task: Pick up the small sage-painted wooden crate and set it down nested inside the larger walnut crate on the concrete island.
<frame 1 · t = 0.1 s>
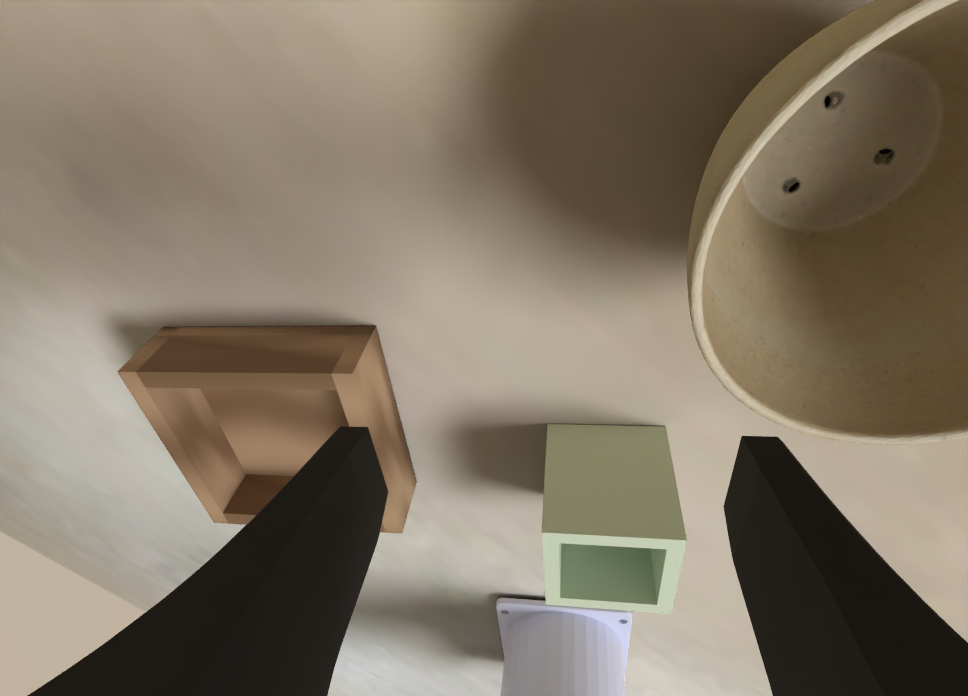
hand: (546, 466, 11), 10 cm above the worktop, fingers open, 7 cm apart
big crate: (300, 410, 26), on the worktop
small crate: (603, 464, 25), on the worktop
flower pot: (827, 144, 16), on the worktop
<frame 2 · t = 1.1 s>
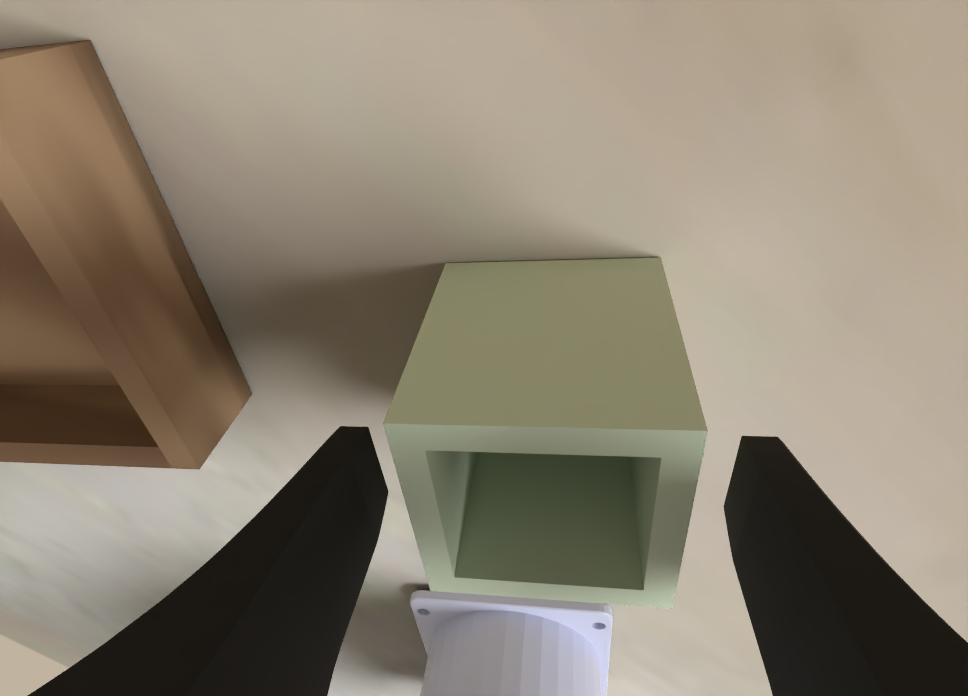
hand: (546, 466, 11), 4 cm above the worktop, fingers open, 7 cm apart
big crate: (27, 257, 15), on the worktop
small crate: (552, 346, 14), on the worktop
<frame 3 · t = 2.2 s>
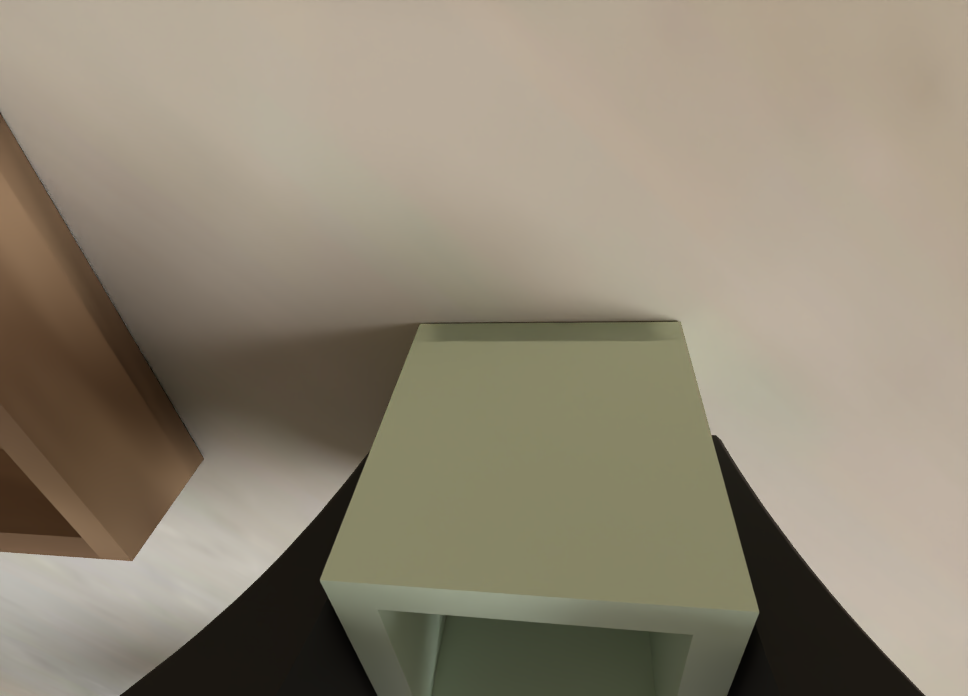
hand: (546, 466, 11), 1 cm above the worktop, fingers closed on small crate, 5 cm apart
small crate: (548, 416, 12), on the worktop, touching gripper
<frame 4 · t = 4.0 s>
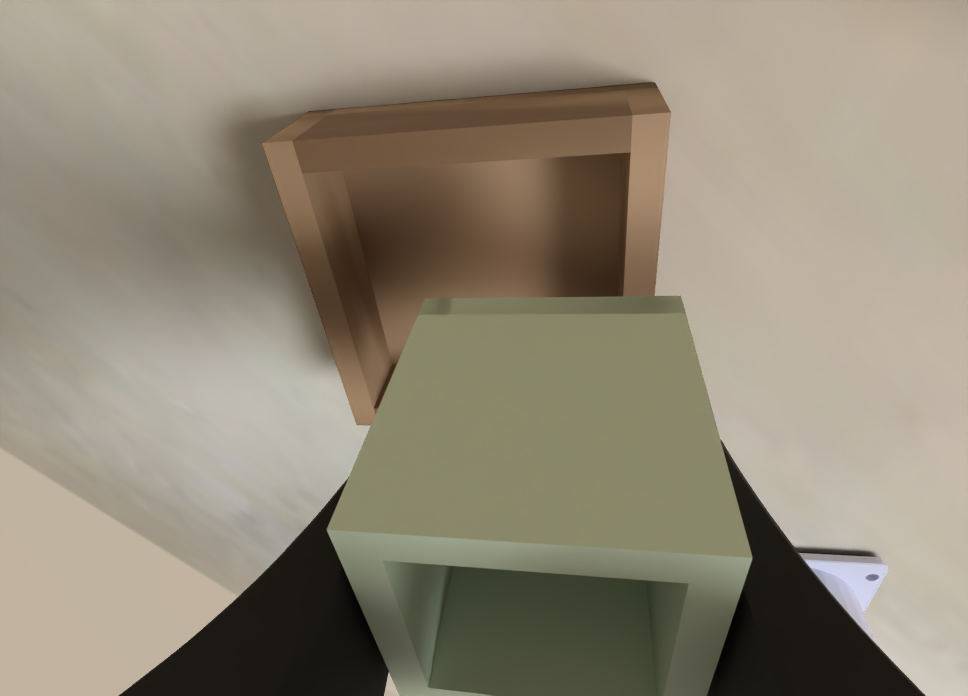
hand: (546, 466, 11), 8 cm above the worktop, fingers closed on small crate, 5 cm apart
big crate: (489, 255, 18), on the worktop
small crate: (551, 392, 12), point 7 cm above the worktop, touching gripper
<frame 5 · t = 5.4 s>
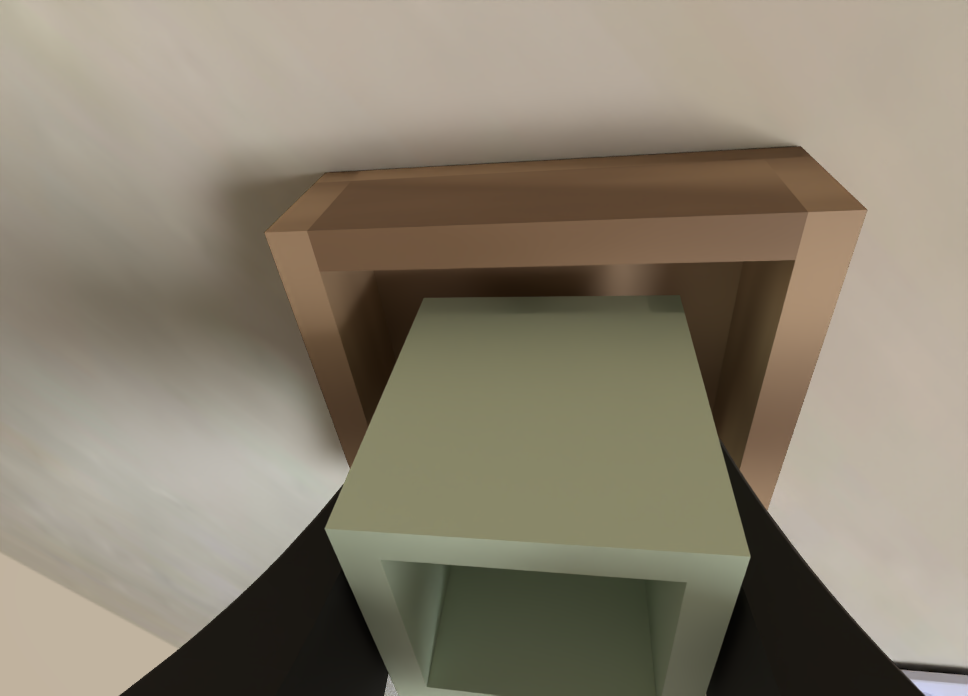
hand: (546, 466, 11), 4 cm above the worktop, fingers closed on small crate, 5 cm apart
big crate: (552, 348, 14), on the worktop
small crate: (550, 392, 12), point 2 cm above the worktop, touching gripper
when the fingers open (4 cm above the worktop, at t = 6.0 s): small crate drops 1 cm, resting on big crate.
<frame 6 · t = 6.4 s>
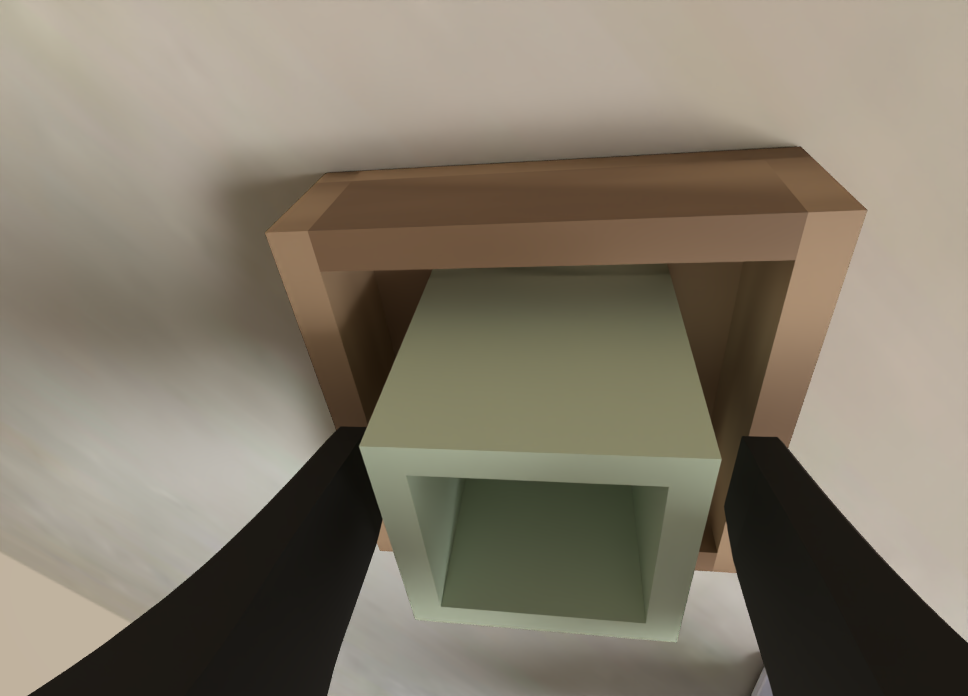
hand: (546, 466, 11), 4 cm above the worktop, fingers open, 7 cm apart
big crate: (552, 348, 14), on the worktop
small crate: (548, 353, 13), point 1 cm above the worktop, touching big crate
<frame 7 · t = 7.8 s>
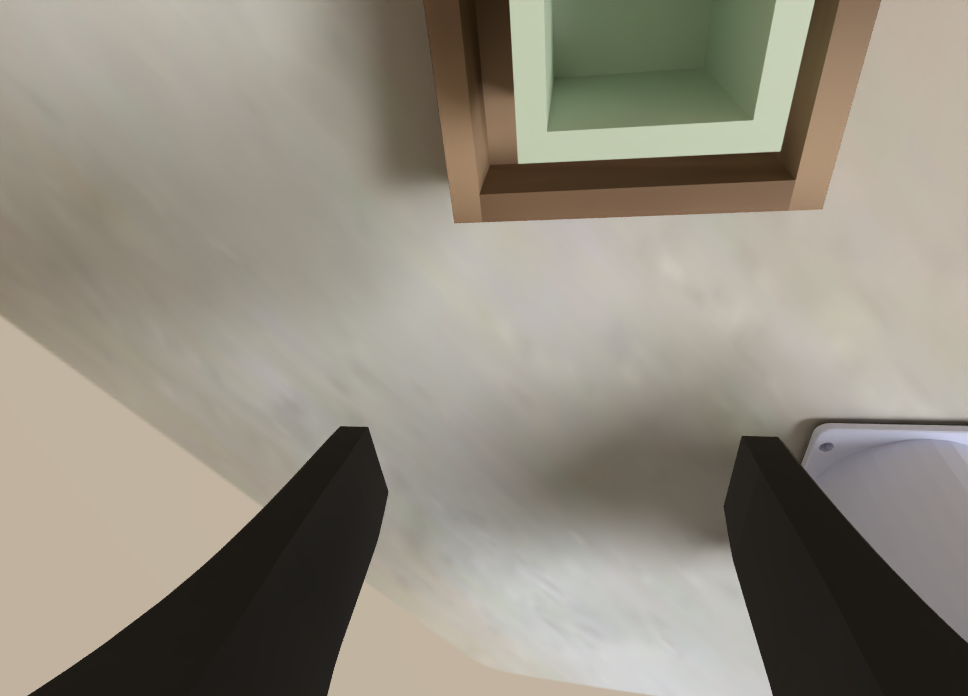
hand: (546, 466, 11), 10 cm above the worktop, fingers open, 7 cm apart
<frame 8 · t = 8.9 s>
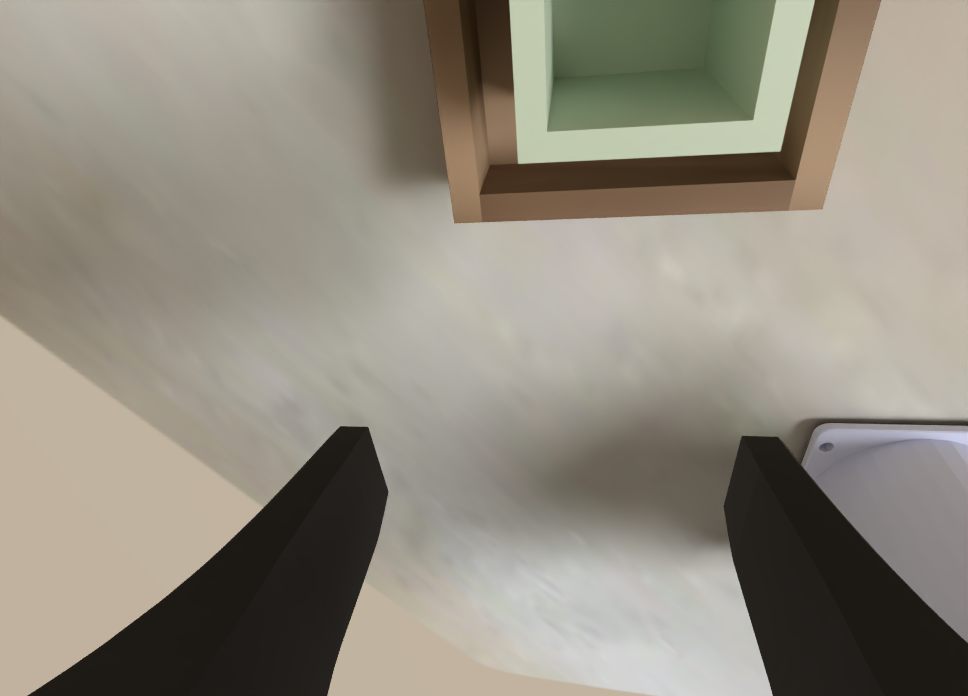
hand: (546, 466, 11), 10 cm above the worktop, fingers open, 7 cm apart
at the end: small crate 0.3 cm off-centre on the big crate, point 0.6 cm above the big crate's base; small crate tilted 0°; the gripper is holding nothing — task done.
